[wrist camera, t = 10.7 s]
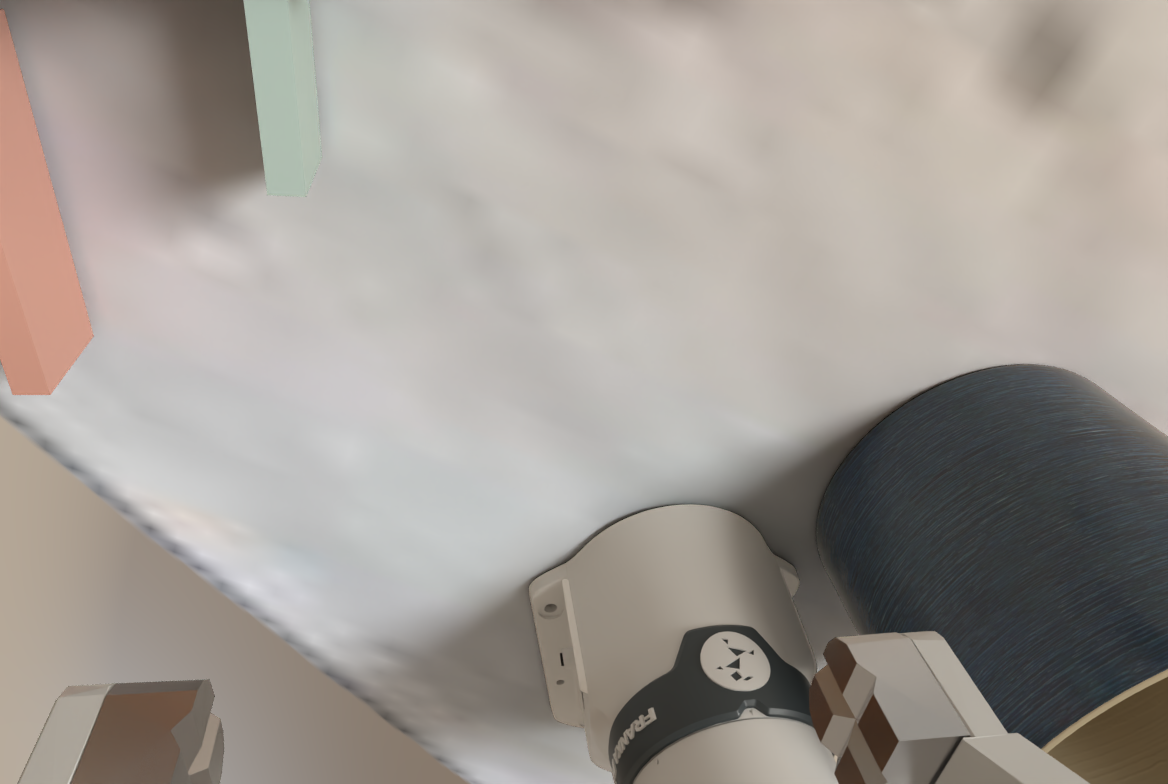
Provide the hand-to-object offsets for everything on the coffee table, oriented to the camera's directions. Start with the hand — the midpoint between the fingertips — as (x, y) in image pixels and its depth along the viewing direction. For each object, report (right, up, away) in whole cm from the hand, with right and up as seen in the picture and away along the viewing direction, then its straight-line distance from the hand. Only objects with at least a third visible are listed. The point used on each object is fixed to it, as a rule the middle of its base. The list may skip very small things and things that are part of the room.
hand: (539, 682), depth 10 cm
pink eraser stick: (-22, +12, +22) cm, 34 cm away
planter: (+27, -3, +43) cm, 51 cm away
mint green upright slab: (-11, +20, +19) cm, 30 cm away
